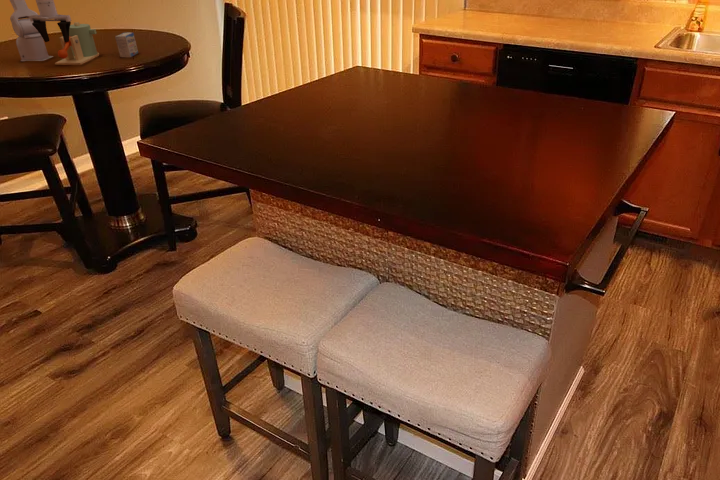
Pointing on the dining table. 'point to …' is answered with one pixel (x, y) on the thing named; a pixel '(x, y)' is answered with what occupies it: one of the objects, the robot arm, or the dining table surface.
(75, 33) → the kettle
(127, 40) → the medicine box
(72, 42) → the switch bracket
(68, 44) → the switch
